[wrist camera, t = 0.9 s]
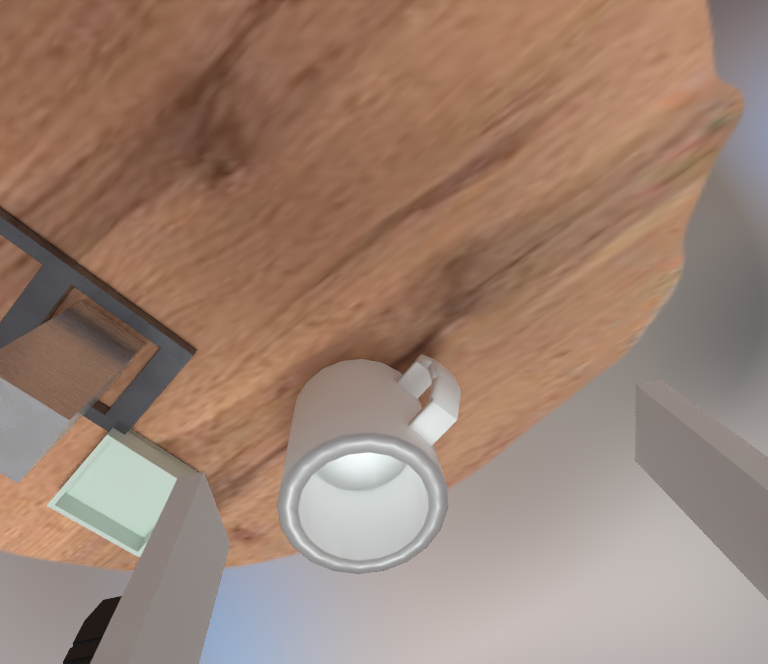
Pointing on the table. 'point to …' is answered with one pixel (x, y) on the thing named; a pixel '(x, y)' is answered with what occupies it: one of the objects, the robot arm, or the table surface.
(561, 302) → the table surface
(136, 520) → the tray
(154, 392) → the double window frame
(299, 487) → the mug
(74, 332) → the grey rectangular block
